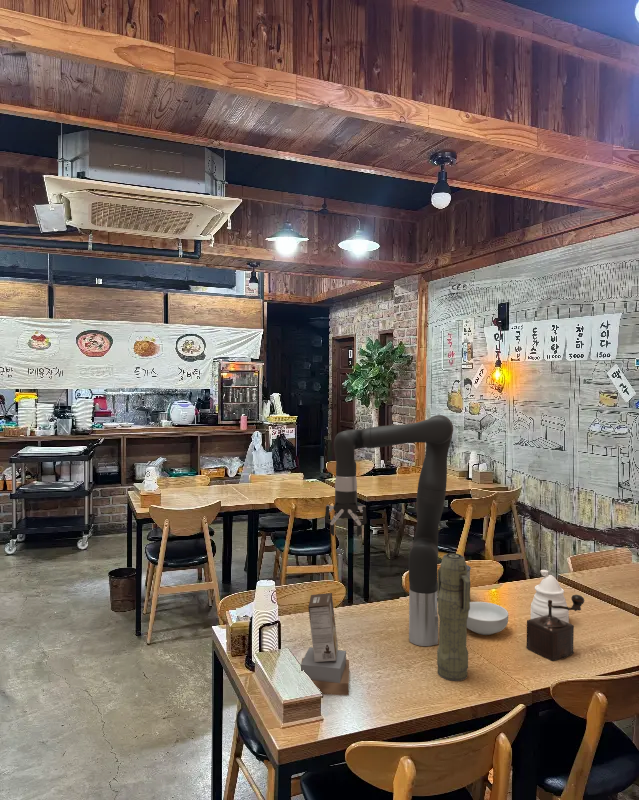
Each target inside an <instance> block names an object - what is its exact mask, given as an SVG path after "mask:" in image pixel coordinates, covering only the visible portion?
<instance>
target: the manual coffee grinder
mask: <svg viewBox="0 0 639 800" xmlns="http://www.w3.org/2000/svg"><path fill="white" fill-rule="evenodd" d="M571 601H572V606H571V607H569V606H567V607H565V606H553V605H552V600H548V603H549V604H548V607H549V615H545V616H541V617H537V618H534V619H531V618H530V619H527V620H526V647H525V648H526V650H528V651H530V652H532V653H534V654H536V655H538V656H541V657H543V658H545V659H547V660H548V661H551V662H554V661H558V660H562V659H565V658H567V657H569V656H570V657H571V656H572V655H573V654H574V653H575V651H574V640H575V639H574V633H575V631H574V630H575V629H574V627H575V626H574V624H572V623H570V622H569V623H567V622H565V621H562V620H560V619H558V618H556V617H554V616H552V608H561V609H567V610H569V611H574V612H577V611H582V608H581V607H582V605H583V604H585V598H584V597H583V596H582V595H579V594H572V596H571Z"/></svg>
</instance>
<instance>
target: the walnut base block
mask: <svg viewBox="0 0 639 800" xmlns="http://www.w3.org/2000/svg"><path fill="white" fill-rule="evenodd" d="M303 659H304V657H302V658H301V663H302V661H303ZM301 663H300V664H301ZM312 681H313V682H314V684H315V685H316V686H317V687H318V688H319V689H320V691H321V692H322V693H323V694H322V695H337V696H349V694H350V693H349V692H350V687H349V686H350V659H346V666H345V669H344V672H343V675H342V678H341V681H340V683H334V682H325V681H315V680H312Z"/></svg>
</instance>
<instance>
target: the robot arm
mask: <svg viewBox="0 0 639 800" xmlns="http://www.w3.org/2000/svg"><path fill="white" fill-rule="evenodd" d="M453 433H454V424H453V423H452V421H451V420H450V419H449V418H448V416H446V415H443V414H442V415H441V414H437V415H434V416H431V417H430V418H428V419H427V418H426V419H424V420H421V421H418V422H414V423H407V424H395V425H394V424H393V425H379V426H374V427H373V426H371V427H366V428H360V429H346V430H344V431H340V432H338V433H337V434H336V435H335V438H334V440H333V449H334V450H333V451H334V457H335V480H334V504H333V505H329V504H326V506H325V517H324V523H325V524H328V525H329V526H330V527H329V533H330V535H331V536H332V537H335V523H336V522H337V521H338V520H339V518H340V519H344V520H345V519H349V520H350V519H353V521H355V523H356V537H359V536H361V535H362V525H366V524H367V507H366V505H364V504H363V505H358V482H357V481H358V480H357V479H358V478H357V461H356V459H355V450H358V449H359V450H360V449H377V448H378V449H379V448H385V447H391V446H398V445H402V444H404V445H405V444H413V443H417V444H418V443H421V444H422V443H425V453H424V454H425V456H424V459H423V462H422V466H421V470H420V474H419V476H418V477H419V479H418V482H417V490H416V528H415V529H416V530H415V531H414V533H415V534H414V538H413V541H412V545H411V548H410V551H409V554H408V582H409V583H408V584H409V587H408V589H409V590H408V591H409V593H408V595H409V597H408V598H409V599H408V600H409V601H408V602H409V603H408V604H409V605H408V607H409V608H408V609H409V610H408V618H409V619H408V640H409V641H408V642H410V643H411V644H413V645H416V646H420V647H431V646H432V647H433V646H434V645H438V646H439V614H438V601H437V598H438V593H437V589H438V559H439V526H440V522H441V518H442V515H443V511H444V506H445V501H446V500H445V499H446V492H447V482H448V480H447V479H448V478H447V477H448V455H449V449H450V445H451V442H452V441H451V440H452V438H453ZM358 510H359V512H360V513H362V519H360V518H359V517H358V515H357V512H358ZM332 511H334V512H335V514H334V515H333V517H332V519H329V518H330V513H331V512H332Z"/></svg>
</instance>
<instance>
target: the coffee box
mask: <svg viewBox="0 0 639 800" xmlns="http://www.w3.org/2000/svg"><path fill="white" fill-rule="evenodd" d="M334 608H335V607H334V601H333V592H329V593H328V592H326V593H316V594H311V595H310V599H309V603H308V615H309V626H310V632H311V633H310V634H311V642H312V648H313V652H314V661H315V662H323V661H336V658H337V650H339V649H338V648H339V647H338V646H339V644H338V638H337V637H338V636H337V628H336V619H335V610H334Z"/></svg>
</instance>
